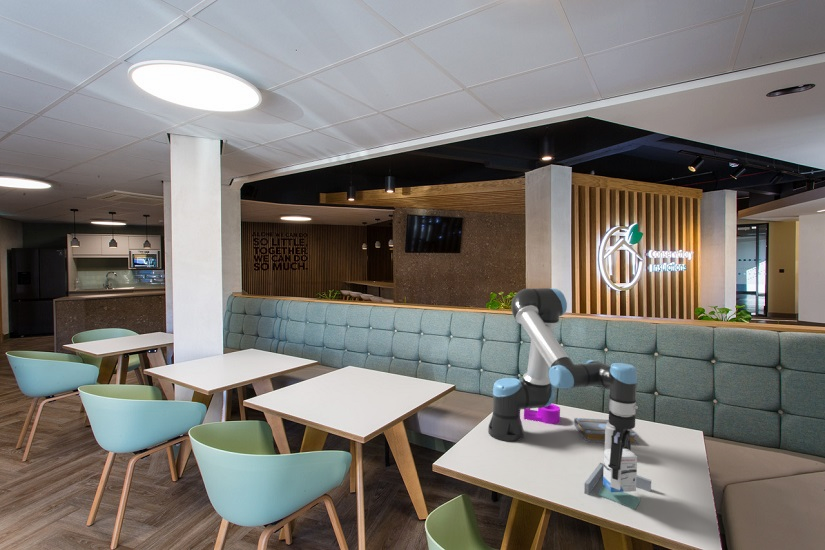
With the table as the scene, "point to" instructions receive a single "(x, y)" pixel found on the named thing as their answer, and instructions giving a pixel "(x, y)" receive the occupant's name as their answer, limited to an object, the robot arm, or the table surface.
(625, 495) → the mat
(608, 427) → the beverage can
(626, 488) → the ink box
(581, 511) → the table surface
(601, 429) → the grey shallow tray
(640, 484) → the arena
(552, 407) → the tape dispenser
